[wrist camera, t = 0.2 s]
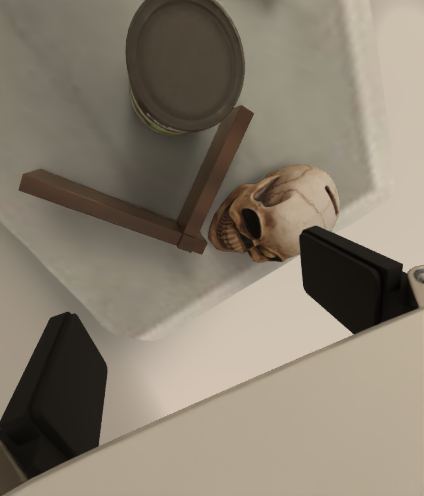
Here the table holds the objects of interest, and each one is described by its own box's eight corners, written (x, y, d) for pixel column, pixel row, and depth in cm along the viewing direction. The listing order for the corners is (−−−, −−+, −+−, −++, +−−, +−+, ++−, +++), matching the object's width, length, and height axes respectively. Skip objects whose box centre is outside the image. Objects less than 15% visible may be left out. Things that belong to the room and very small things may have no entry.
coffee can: (202, 140, 37) (236, 139, 25) (128, 130, 34) (125, 122, 22) (210, 57, 34) (254, 6, 21) (129, 37, 31) (125, -36, 18)
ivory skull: (202, 245, 43) (235, 274, 31) (236, 144, 41) (287, 134, 29) (273, 264, 50) (324, 294, 38) (307, 178, 47) (373, 181, 35)
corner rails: (83, 20, 29) (70, -11, 23) (248, 124, 38) (268, 121, 33) (36, 183, 34) (15, 192, 28) (193, 241, 43) (202, 257, 37)
